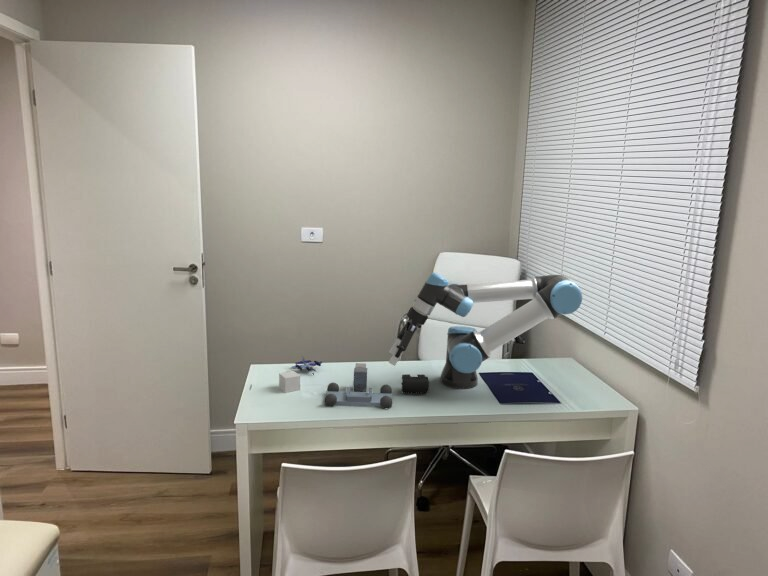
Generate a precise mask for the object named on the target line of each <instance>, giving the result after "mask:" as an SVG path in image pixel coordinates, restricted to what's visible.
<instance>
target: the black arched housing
mask: <svg viewBox="0 0 768 576" xmlns="http://www.w3.org/2000/svg"><path fill="white" fill-rule="evenodd" d="M400 384H401V393H402V394H427V393H428V392H429V389H430V380H429V377H428V376H426V375H425V374H417V375H416V376H411V374H402V375H401V383H400Z"/></svg>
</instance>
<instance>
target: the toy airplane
mask: <svg viewBox="0 0 768 576" xmlns="http://www.w3.org/2000/svg"><path fill="white" fill-rule="evenodd" d="M322 364H323V362H322V361H319V360H318V361H317V360H314V361H313V362H312V361H311V360H305V357H304V356H303V355H301V361H297V362H295V365H294V366H291V369H297V370H300V371H303V369H305V370H306V371H309V372H311V375H312V374H313V375H312V376H315V372H317V373H318V371H317V370H316V369H315V367H316V366H318V367H321V366H322Z"/></svg>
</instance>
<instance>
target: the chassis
mask: <svg viewBox="0 0 768 576" xmlns="http://www.w3.org/2000/svg"><path fill="white" fill-rule="evenodd" d="M379 389H380V390H379V392H373V387H368V392H353V391H351V386H347V387H346V391H340V386H339V385H338V383H336V382H330V383H329V384H328V385H327V389H326V392H327V393H326V395H325V397H324V400H323V402H324V405H326V407H334V406H346V405H349V406H350V407H351V405H354V406H353V407H374V406H381V407H380V408H382V409H384V408H388V409H390V408H392V407H393V406H392V405H393V399H392V398H393V397H392V393H393V389H392V387H391V385H389V384H383V385H382V386H381V387H380V388H379ZM356 405H357V406H356Z"/></svg>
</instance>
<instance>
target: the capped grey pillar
mask: <svg viewBox="0 0 768 576" xmlns="http://www.w3.org/2000/svg"><path fill="white" fill-rule="evenodd" d="M367 380H368V367H367V363H364V362H363V363H361V362H360V363H358V362H357V363H355V366H354V368H353V388H352V392H363V393H367V389H368V388H367V387H368V386H367V385H368V383H367V382H368V381H367Z"/></svg>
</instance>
